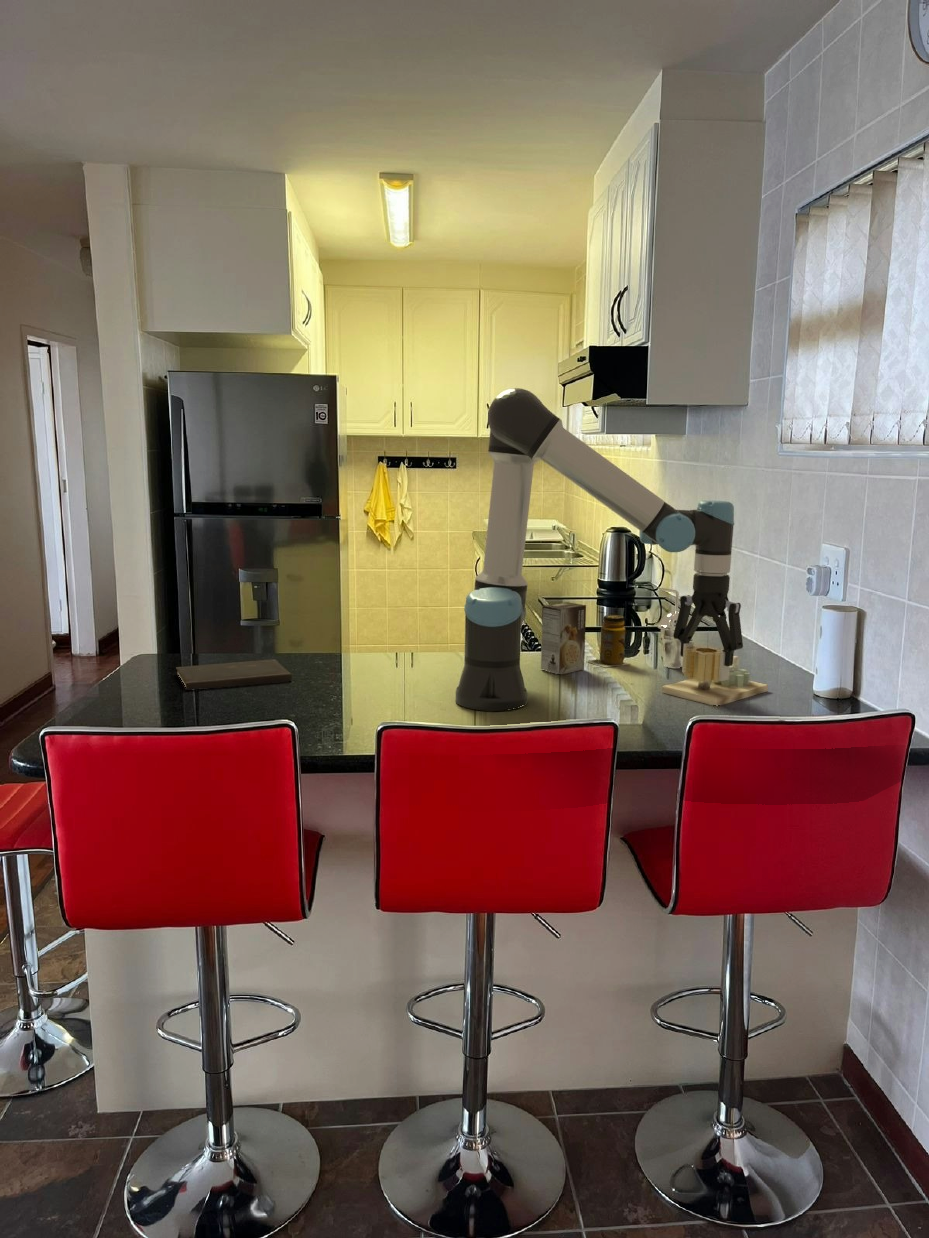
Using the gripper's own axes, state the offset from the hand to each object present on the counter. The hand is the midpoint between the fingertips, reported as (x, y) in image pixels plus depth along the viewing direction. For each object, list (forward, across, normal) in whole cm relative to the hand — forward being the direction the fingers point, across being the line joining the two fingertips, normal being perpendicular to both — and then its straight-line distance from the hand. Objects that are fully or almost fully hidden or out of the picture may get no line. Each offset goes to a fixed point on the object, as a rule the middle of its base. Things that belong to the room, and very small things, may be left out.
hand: (704, 675), depth 197 cm
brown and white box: (+5, +35, +8) cm, 36 cm away
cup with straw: (+5, +21, -17) cm, 28 cm away
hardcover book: (+5, +76, +74) cm, 106 cm away
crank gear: (+3, 0, -10) cm, 10 cm away
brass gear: (0, 0, 0) cm, 0 cm away
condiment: (+5, +33, -7) cm, 34 cm away
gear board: (+4, 0, -4) cm, 6 cm away
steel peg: (+3, 0, 0) cm, 3 cm away
